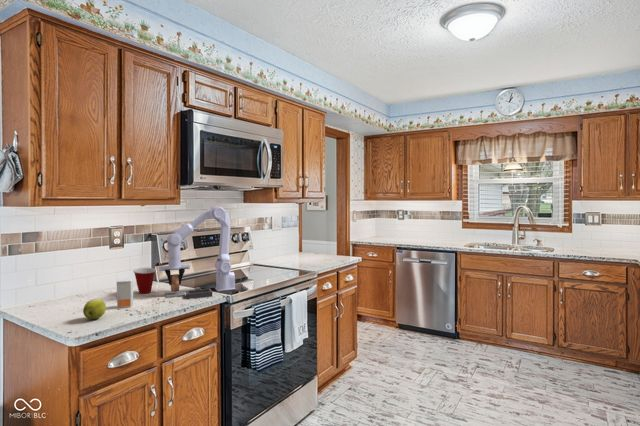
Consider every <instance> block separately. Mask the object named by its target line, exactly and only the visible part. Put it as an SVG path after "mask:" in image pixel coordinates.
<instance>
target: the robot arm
mask: <svg viewBox="0 0 640 426" xmlns="http://www.w3.org/2000/svg"><path fill="white" fill-rule="evenodd" d="M207 220H215V221H217V222H218V223H219V224H220V231H219V232H220V233H219V244H218V245H219V247H218V248H219V249H218V255H217V257H216V261H215V263H214V267H215V269H216V272H215V275H216V276H215V277H216V280H215V281H216V282H215V283H216V286H214V289H215V290H216V291H217V292H222V291H223V292H224V291H231V290H236V277H235V272H234V271H231V270H232V263H231V258H230V251H229V250H230V241H231V240H230V239H231V227H232V226H231V225H232V224H231V223H232V221H231V218H230V217H229V215H228V213H227V210H226V209H224V208H223V207H222V206H215V205H214V206H211V207H210V208H209V209H206V210H205V211H203V213H201V214H200V215H198V216H197V217H196V218H195V219H194V220H192V221H191V222H190V223H182V224H180V225H181V226H180V227H179V228H178V229H176V230H174V231H173V233H170V234H169V235H168V236H167V238H166V242H167V243H168V246H167V247H168V248H167V253H168V257H167V258H168V259H167V261H168V265H166V266H159V267H158V272H164V273H165V274H166V277H167V280H168V285H169V286H171V275H172V274H171V271H178V274H179V285H181V284H182V279H183V276H184V275H185V272H186V270H190V269H191V265H190V264H182V263H181V258H182V257H181V243H182V241H183V240H185V239H186V238H188V237H189V236H190V235H192V234H193V233H194V230H195V228H197V227H199V226H200V225H201V224H203V223H204V222H206V221H207Z"/></svg>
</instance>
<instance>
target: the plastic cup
mask: <svg viewBox="0 0 640 426" xmlns="http://www.w3.org/2000/svg"><path fill="white" fill-rule="evenodd" d="M156 271H157V269H155V268H151V267H140V268H135V269H133V273H134V276H135V282H136V286H137V290H138V293H139V294H141V295H145V294H150V293H152V288H153V282H154V276H155V273H156Z"/></svg>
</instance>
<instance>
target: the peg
mask: <svg viewBox="0 0 640 426" xmlns="http://www.w3.org/2000/svg"><path fill="white" fill-rule="evenodd" d="M178 291H180V284H179V273H178V274H177V273H176V274H171V285H170V292H178Z"/></svg>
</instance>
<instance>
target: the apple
mask: <svg viewBox="0 0 640 426" xmlns="http://www.w3.org/2000/svg"><path fill="white" fill-rule="evenodd" d="M106 311H107V304H106V302H105V301H104V300H103V299H102V298H101V299H100V298H95V299H94V298H93V299H90V300H89V301H87V302H86V303H85V305H84V306H83V309H82V313H83V316H84V317H85V318H86V319H89V320H97V319H99V318H101V317H102V316H103V315H104V314H105V313H106Z"/></svg>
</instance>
